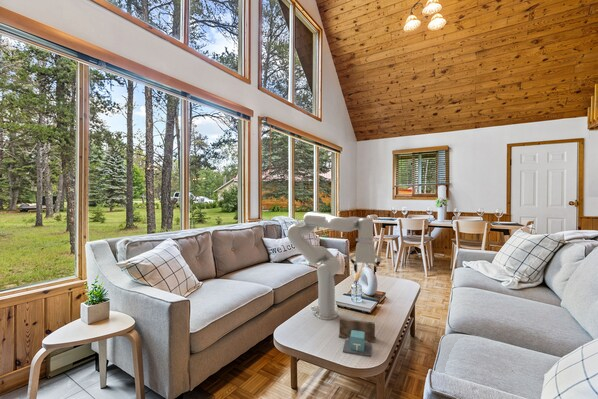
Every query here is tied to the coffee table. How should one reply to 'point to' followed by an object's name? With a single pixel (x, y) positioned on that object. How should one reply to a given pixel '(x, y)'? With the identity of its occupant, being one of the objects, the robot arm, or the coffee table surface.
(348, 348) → the mat
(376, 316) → the coffee table surface
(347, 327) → the screen
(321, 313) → the robot arm
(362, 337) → the letter cube
